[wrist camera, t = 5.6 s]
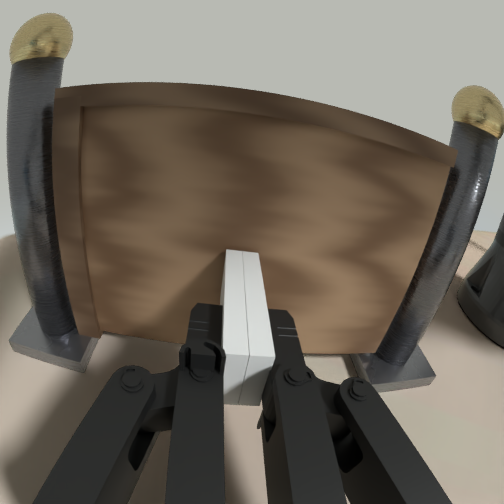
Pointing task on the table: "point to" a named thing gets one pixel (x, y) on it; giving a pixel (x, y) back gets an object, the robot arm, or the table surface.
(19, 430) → the table surface
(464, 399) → the table surface
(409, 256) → the panel
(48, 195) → the gate posts
